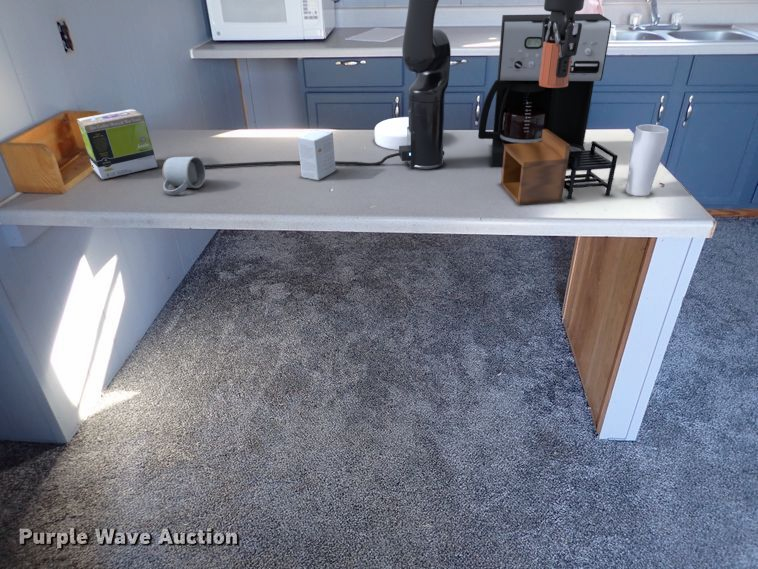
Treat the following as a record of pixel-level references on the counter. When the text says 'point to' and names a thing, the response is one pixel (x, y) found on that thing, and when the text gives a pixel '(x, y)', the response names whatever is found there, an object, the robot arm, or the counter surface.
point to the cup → (552, 67)
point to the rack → (589, 168)
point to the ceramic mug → (183, 173)
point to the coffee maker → (536, 103)
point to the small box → (316, 154)
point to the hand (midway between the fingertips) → (554, 73)
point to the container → (392, 133)
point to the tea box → (117, 143)
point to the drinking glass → (645, 158)
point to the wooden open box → (536, 169)
